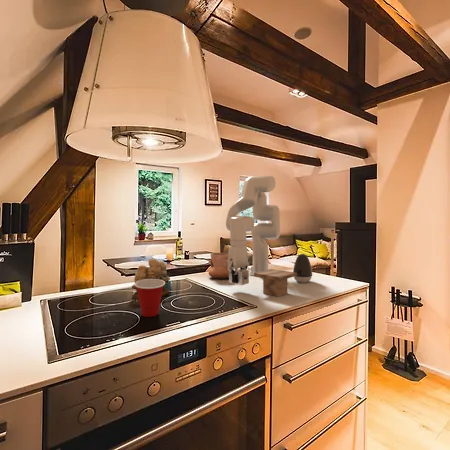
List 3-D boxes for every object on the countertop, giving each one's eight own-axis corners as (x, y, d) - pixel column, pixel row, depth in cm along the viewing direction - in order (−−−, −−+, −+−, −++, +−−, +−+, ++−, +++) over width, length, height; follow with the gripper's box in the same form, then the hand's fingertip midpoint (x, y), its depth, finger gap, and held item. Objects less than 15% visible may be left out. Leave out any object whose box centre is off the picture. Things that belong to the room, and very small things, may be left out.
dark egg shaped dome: (310, 279, 160) (310, 252, 159) (314, 284, 149) (314, 255, 149) (291, 279, 161) (291, 252, 160) (294, 283, 150) (294, 255, 150)
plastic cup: (137, 322, 96) (137, 286, 96) (132, 312, 106) (132, 280, 106) (169, 316, 101) (168, 283, 101) (161, 308, 111) (160, 277, 111)
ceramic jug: (239, 278, 164) (239, 253, 164) (219, 281, 155) (218, 255, 155) (221, 274, 178) (221, 251, 178) (201, 276, 170) (201, 253, 170)
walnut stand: (254, 293, 131) (254, 273, 131) (271, 287, 142) (271, 268, 141) (280, 299, 122) (280, 277, 122) (296, 292, 132) (296, 272, 132)
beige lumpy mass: (163, 289, 140) (163, 255, 139) (176, 294, 131) (176, 257, 130) (127, 296, 128) (127, 258, 128) (138, 302, 119) (138, 261, 119)
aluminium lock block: (229, 282, 135) (228, 270, 135) (235, 280, 139) (235, 268, 139) (243, 285, 130) (242, 272, 129) (249, 283, 133) (249, 270, 133)
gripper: (243, 241, 142) (244, 277, 143) (220, 244, 130) (220, 283, 131) (255, 242, 137) (256, 279, 138) (232, 245, 125) (232, 286, 126)
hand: (238, 281), depth 134 cm, fingers closed on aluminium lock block, 5 cm apart
